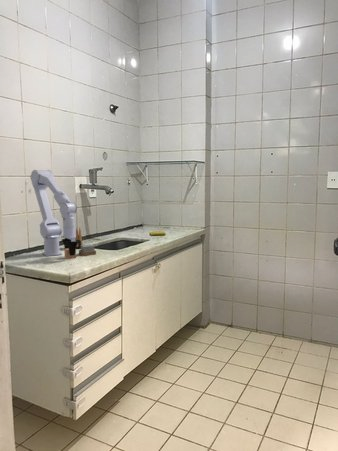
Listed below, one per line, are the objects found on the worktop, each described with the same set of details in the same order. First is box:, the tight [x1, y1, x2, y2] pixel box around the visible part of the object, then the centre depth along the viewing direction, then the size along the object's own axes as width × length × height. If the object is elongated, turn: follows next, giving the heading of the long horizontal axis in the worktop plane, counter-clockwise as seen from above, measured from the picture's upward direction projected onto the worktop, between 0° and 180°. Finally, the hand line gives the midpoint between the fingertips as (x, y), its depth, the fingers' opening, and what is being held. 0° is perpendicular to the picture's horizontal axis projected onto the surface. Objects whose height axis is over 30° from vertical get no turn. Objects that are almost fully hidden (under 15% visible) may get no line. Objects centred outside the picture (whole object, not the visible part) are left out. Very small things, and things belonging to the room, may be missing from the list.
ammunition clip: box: [63, 227, 83, 250], centre depth 212 cm, size 11×2×12 cm, turn 74°
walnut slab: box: [78, 249, 97, 257], centre depth 196 cm, size 7×7×2 cm
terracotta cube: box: [64, 248, 77, 260], centre depth 188 cm, size 4×4×4 cm
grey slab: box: [80, 244, 96, 252], centre depth 196 cm, size 6×6×2 cm
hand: (70, 253), depth 188 cm, fingers open, 7 cm apart
